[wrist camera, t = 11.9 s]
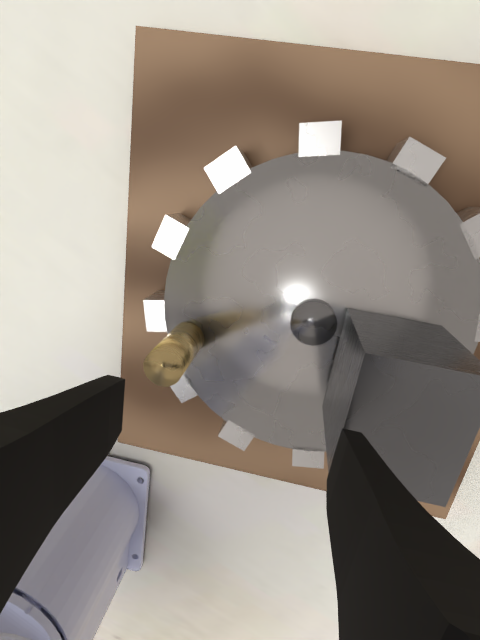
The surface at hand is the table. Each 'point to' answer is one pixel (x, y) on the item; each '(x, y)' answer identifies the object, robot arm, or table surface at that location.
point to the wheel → (304, 279)
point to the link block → (405, 399)
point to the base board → (259, 146)
